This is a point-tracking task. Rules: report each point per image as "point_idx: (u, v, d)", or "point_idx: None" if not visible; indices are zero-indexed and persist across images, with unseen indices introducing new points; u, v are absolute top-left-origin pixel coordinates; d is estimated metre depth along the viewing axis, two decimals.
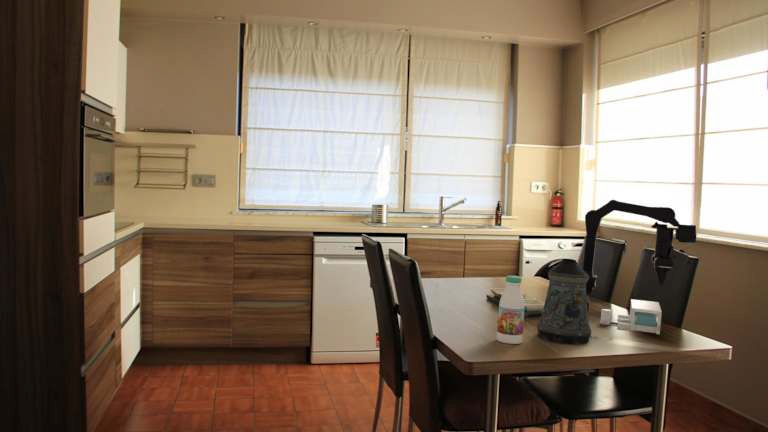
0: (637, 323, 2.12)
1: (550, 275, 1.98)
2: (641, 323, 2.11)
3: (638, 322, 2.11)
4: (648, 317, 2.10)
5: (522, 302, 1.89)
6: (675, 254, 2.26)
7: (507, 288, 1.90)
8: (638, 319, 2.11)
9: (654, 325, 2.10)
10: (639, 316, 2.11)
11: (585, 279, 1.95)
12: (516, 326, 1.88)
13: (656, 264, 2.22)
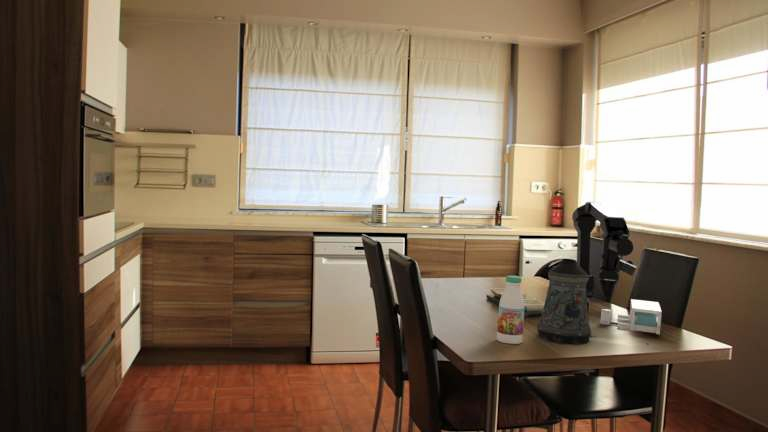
0: (637, 323, 2.12)
1: (550, 275, 1.98)
2: (641, 323, 2.11)
3: (638, 322, 2.11)
4: (648, 317, 2.10)
5: (522, 302, 1.89)
6: (622, 266, 2.12)
7: (507, 288, 1.90)
8: (638, 319, 2.11)
9: (654, 325, 2.10)
10: (639, 316, 2.11)
11: (585, 279, 1.95)
12: (516, 326, 1.88)
13: (600, 277, 2.09)
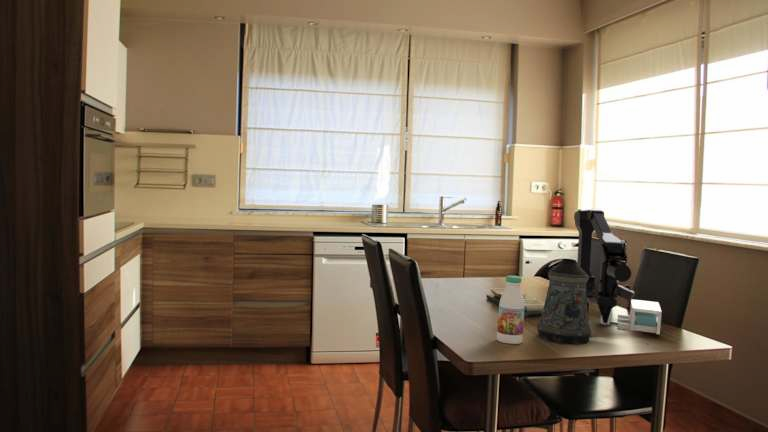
0: (637, 323, 2.12)
1: (550, 275, 1.98)
2: (641, 323, 2.11)
3: (638, 322, 2.11)
4: (648, 317, 2.10)
5: (522, 302, 1.89)
6: (620, 291, 2.13)
7: (507, 288, 1.90)
8: (638, 319, 2.11)
9: (654, 325, 2.10)
10: (639, 316, 2.11)
11: (585, 279, 1.95)
12: (516, 326, 1.88)
13: (598, 303, 2.09)
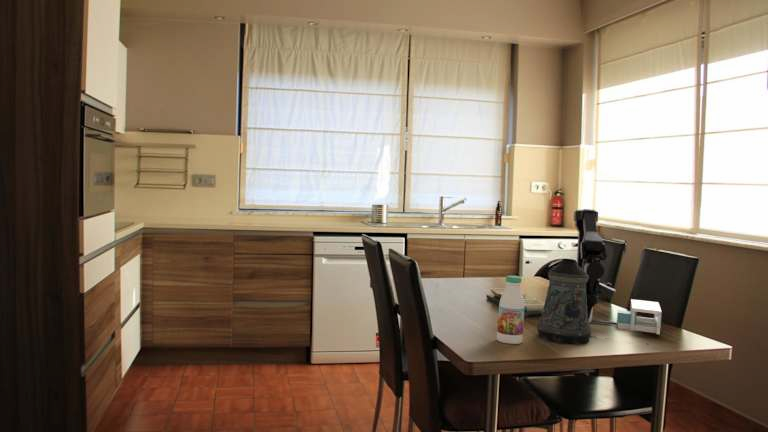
0: (618, 321, 2.14)
1: (550, 275, 1.98)
2: (622, 321, 2.13)
3: (618, 319, 2.14)
4: (628, 315, 2.12)
5: (522, 302, 1.89)
6: (601, 289, 2.15)
7: (507, 288, 1.90)
8: (619, 317, 2.13)
9: (634, 323, 2.12)
10: (620, 314, 2.13)
11: (585, 279, 1.95)
12: (516, 326, 1.88)
13: None
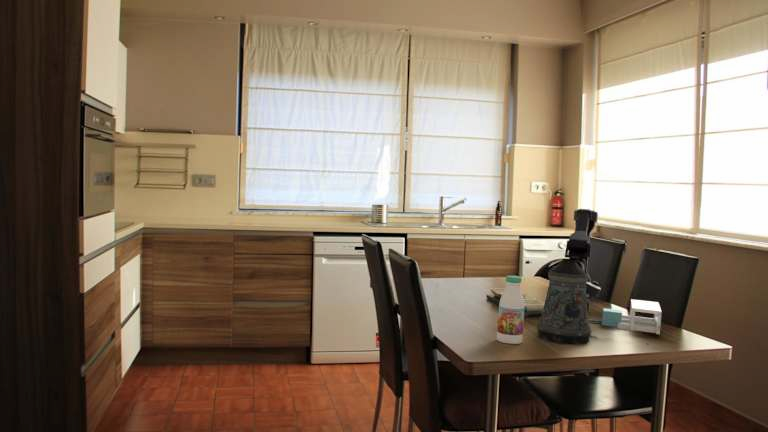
0: (603, 319, 2.15)
1: (550, 275, 1.98)
2: (607, 319, 2.15)
3: (604, 318, 2.15)
4: (614, 313, 2.14)
5: (522, 302, 1.89)
6: (586, 288, 2.17)
7: (507, 288, 1.90)
8: (604, 315, 2.15)
9: (620, 321, 2.13)
10: (605, 312, 2.15)
11: (585, 279, 1.95)
12: (516, 326, 1.88)
13: None
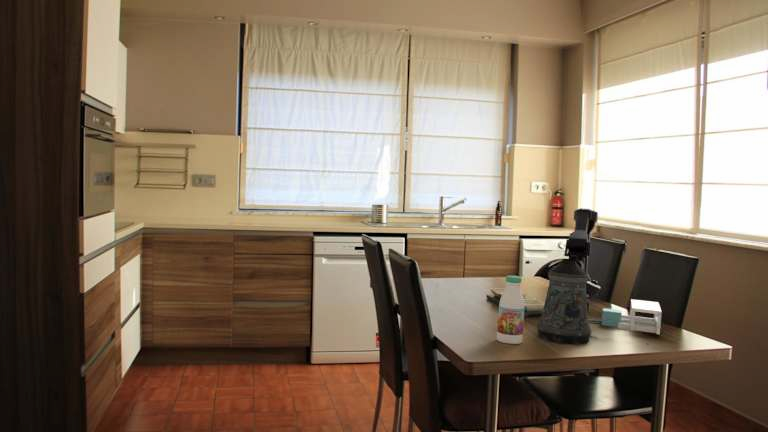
0: (603, 319, 2.15)
1: (550, 275, 1.98)
2: (606, 319, 2.15)
3: (603, 318, 2.15)
4: (613, 313, 2.14)
5: (522, 302, 1.89)
6: (586, 286, 2.17)
7: (507, 288, 1.90)
8: (604, 315, 2.15)
9: (619, 321, 2.13)
10: (605, 312, 2.15)
11: (585, 279, 1.95)
12: (516, 326, 1.88)
13: None
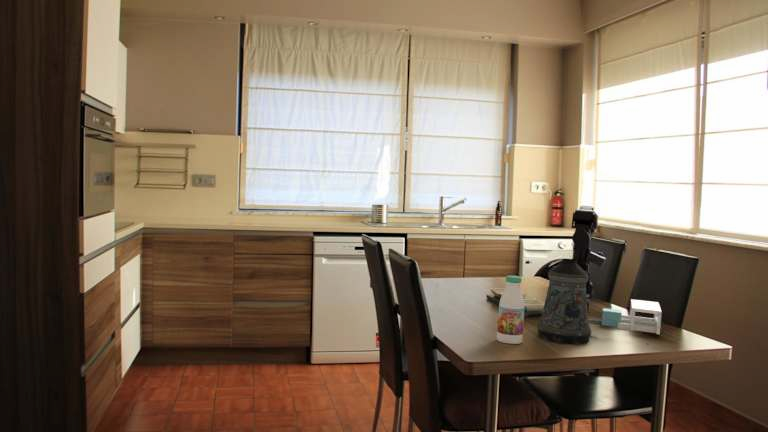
0: (603, 319, 2.15)
1: (550, 275, 1.98)
2: (606, 319, 2.15)
3: (603, 318, 2.15)
4: (613, 313, 2.14)
5: (522, 302, 1.89)
6: (592, 257, 2.23)
7: (507, 288, 1.90)
8: (604, 315, 2.15)
9: (619, 321, 2.13)
10: (605, 312, 2.15)
11: (585, 279, 1.95)
12: (516, 326, 1.88)
13: None
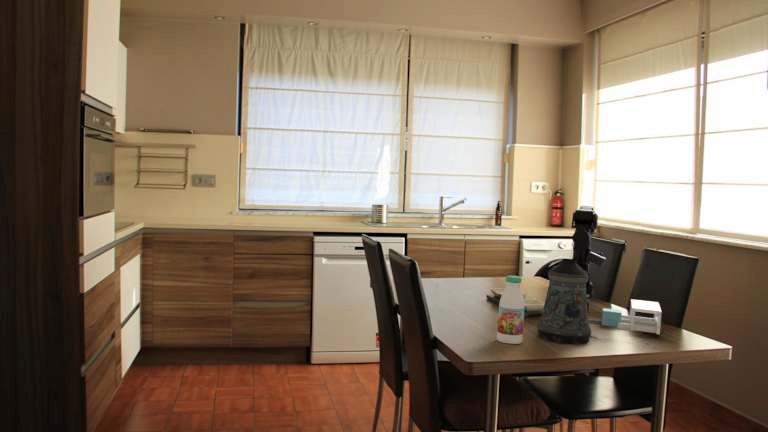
0: (603, 319, 2.15)
1: (550, 275, 1.98)
2: (606, 319, 2.15)
3: (603, 318, 2.15)
4: (613, 313, 2.14)
5: (522, 302, 1.89)
6: (592, 257, 2.23)
7: (507, 288, 1.90)
8: (604, 315, 2.15)
9: (619, 321, 2.13)
10: (605, 312, 2.15)
11: (585, 279, 1.95)
12: (516, 326, 1.88)
13: None
